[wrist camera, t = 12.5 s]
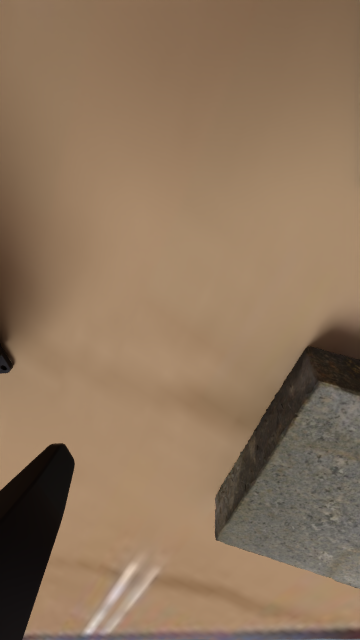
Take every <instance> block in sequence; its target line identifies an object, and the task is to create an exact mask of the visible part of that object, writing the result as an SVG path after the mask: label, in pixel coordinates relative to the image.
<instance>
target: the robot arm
mask: <svg viewBox="0 0 360 640" xmlns="http://www.w3.org/2000/svg"><path fill="white" fill-rule="evenodd" d="M12 368H13V365H12V363H11V361H10V359H9V358H8V356H7V354H6V353H5V351H4V349H3V348H2V346H1V344H0V373H8V372H9V371H10V370H11V369H12ZM74 465H75V463H74V459H73V457H72V455H71V453H70V452H69V450H68V448H67V447H66V445H65V444H63V443H58V444H51V445H49V446H48V447H47V448H46V449H45V450H44V451H43V452H42V453H40V454H39V455H38V456H37V457H36V458H35V459H34V460H33V461H32V462H31V463H30V464H29V465H28V466H26V467H25V468H24V469H23V470H22V471H21V472H20V473H19V474H18V475H17V476H16V477H15V478H13V479H12V480H11V481H10V482H9V483H8V484H7V485H6V486H5V487H4V488H3V489H2V490H0V640H22V639H23V636H24V633H25V630H26V627H27V624H28V621H29V618H30V615H31V612H32V609H33V606H34V603H35V600H36V597H37V594H38V591H39V587H40V584H41V581H42V578H43V575H44V572H45V569H46V566H47V563H48V560H49V557H50V554H51V551H52V548H53V545H54V542H55V539H56V536H57V533H58V530H59V527H60V524H61V521H62V517H63V514H64V510H65V505H66V501H67V497H68V493H69V488H70V484H71V480H72V475H73V471H74Z"/></svg>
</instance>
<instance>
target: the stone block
mask: <svg viewBox="0 0 360 640" xmlns="http://www.w3.org/2000/svg"><path fill="white" fill-rule="evenodd" d="M266 411H267V412H266V413H265V414H264V415H263V417H262V419H261V421H260V423H259V425H258V426H257V428H256V429H255V431H254V433H253V435H252V436H251V439H250V440H249V441H248V444H246V445H245V448H244V450H243V451H242V452H241V454H240V456H239V458H238V460H237V462H236V463H235V464H234V467H233V468H232V470H231V472H230V473H229V474H228V476H227V477H226V479H225V481H224V483H223V484H222V485H221V488H220V491H219V492H218V494H217V495H216V498H215V504H216V510H215V538H216V540H217V541H221V542H223V543H225V544H228V545H231V546H235V547H238V548H240V549H243V550H246V551H249V552H253V553H256V554H259V555H262V556H266V557H269V558H271V559H274V560H277V561H280V562H284V563H286V564H289V565H292V566H295V567H297V568H301V569H305V570H308V571H311V572H314V573H316V574H319V575H322V576H325V577H329V578H332V579H334V580H335V581H337V582H340V583H344V584H347V585H350V586H352V587H355V588H360V360H358V359H353V358H349V357H346V356H343V355H338V354H335V353H332V352H329V351H325V350H321V349H317V348H314V347H310V346H308V347H307V348H306V349H305V351H304V352H303V354H302V355H301V357H300V358H299V359H298V361H297V363H296V364H295V366H294V367H293V369H292V371H291V372H290V373H289V375H288V376H287V379H286V380H285V381H284V383H283V385H282V387H281V388H280V390H279V392H278V393H277V394H276V395H275V399H274V400H273V401H272V402H271V404H270V406H269V407H268V409H267V410H266Z"/></svg>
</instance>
